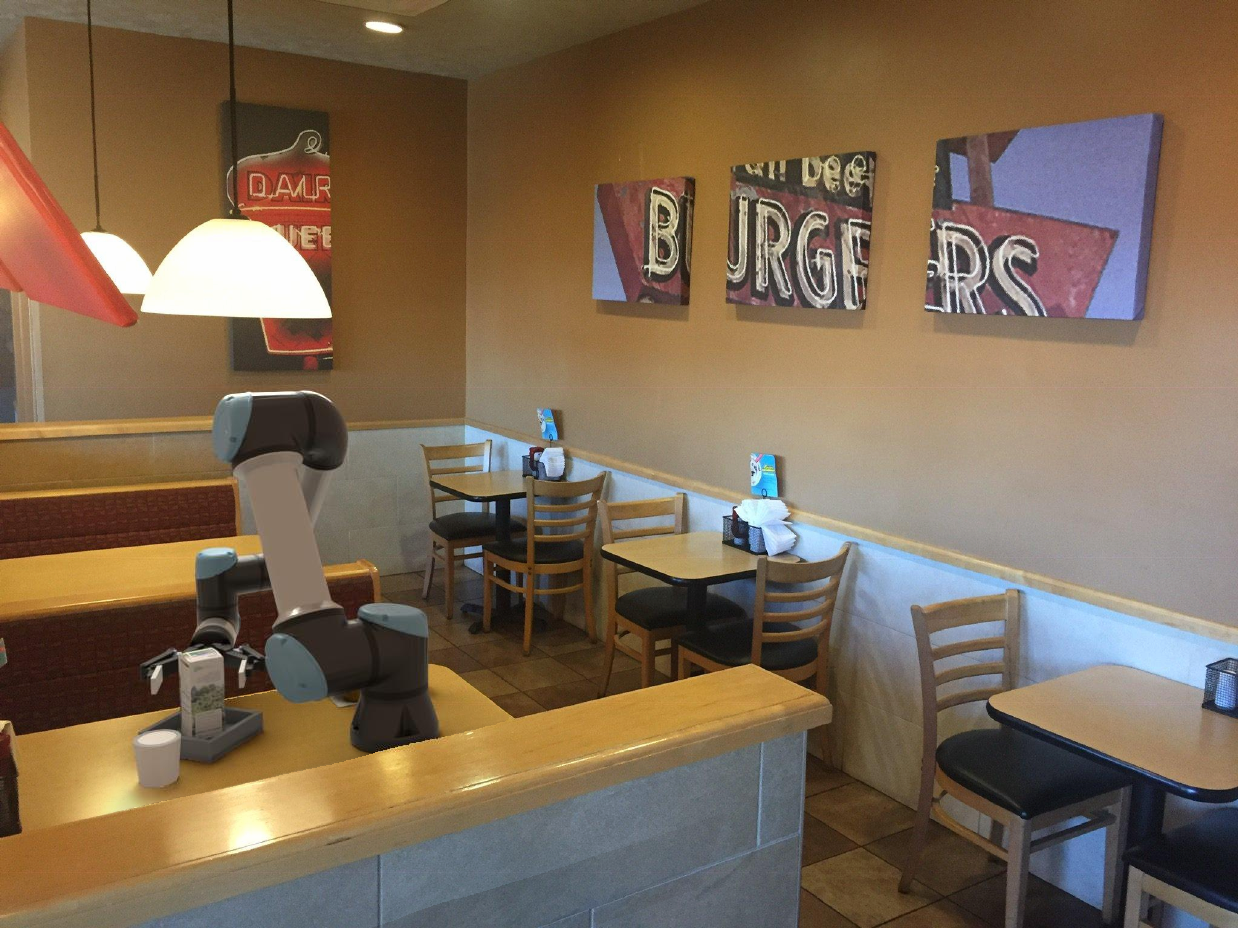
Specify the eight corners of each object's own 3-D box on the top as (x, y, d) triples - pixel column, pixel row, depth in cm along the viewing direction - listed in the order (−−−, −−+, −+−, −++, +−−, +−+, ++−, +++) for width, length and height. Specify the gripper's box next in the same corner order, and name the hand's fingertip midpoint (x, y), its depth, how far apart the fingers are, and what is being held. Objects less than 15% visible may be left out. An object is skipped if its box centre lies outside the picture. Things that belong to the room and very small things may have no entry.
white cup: (162, 792, 154) (160, 748, 153) (124, 785, 156) (122, 742, 155) (192, 773, 161) (190, 731, 160) (156, 767, 163) (154, 726, 162)
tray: (263, 730, 178) (262, 711, 177) (211, 763, 164) (210, 742, 164) (195, 720, 181) (194, 702, 181) (139, 752, 168) (138, 731, 168)
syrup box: (214, 725, 177) (211, 645, 175) (226, 736, 173) (223, 654, 171) (180, 733, 173) (177, 652, 171) (192, 744, 169) (188, 661, 167)
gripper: (283, 658, 192) (277, 698, 172) (140, 668, 186) (116, 710, 165) (282, 620, 191) (276, 656, 171) (138, 628, 185) (114, 666, 164)
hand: (197, 683), depth 168 cm, fingers open, 13 cm apart
